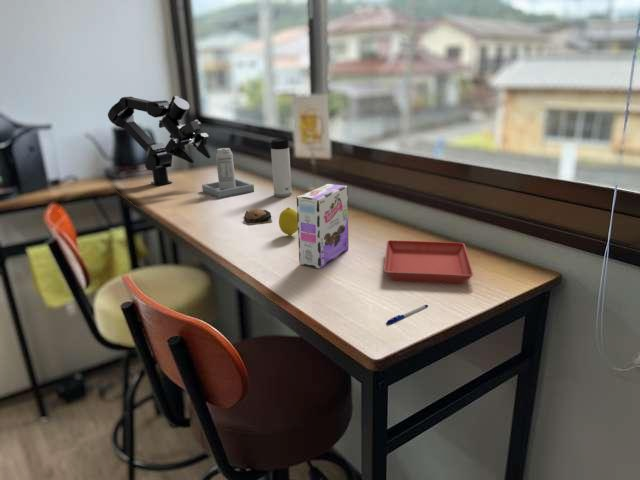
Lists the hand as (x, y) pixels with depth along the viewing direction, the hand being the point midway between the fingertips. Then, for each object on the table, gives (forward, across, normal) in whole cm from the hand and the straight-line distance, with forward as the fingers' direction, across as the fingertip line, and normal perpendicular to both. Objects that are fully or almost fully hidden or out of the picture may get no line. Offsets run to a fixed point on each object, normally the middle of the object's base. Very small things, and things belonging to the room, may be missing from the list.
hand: (201, 160), depth 177 cm
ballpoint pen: (+78, -60, -63) cm, 117 cm away
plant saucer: (+76, -38, -61) cm, 104 cm away
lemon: (+48, -32, -33) cm, 67 cm away
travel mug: (+31, +3, -16) cm, 35 cm away
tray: (+15, 0, 0) cm, 15 cm away
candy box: (+59, -41, -44) cm, 84 cm away
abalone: (+36, -23, -21) cm, 48 cm away
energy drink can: (+15, 0, 0) cm, 15 cm away
